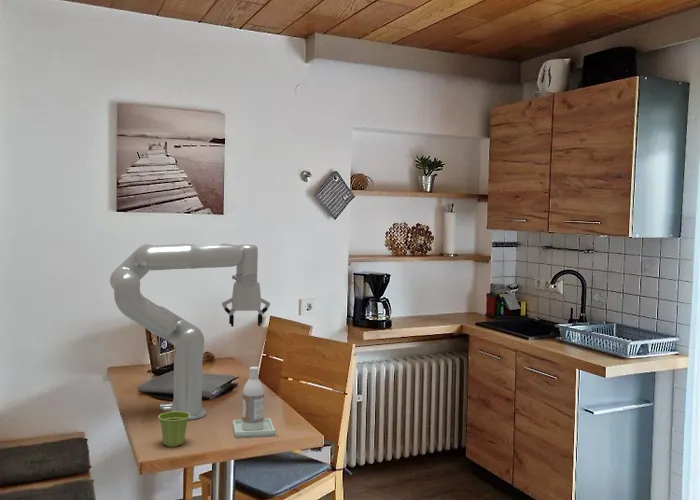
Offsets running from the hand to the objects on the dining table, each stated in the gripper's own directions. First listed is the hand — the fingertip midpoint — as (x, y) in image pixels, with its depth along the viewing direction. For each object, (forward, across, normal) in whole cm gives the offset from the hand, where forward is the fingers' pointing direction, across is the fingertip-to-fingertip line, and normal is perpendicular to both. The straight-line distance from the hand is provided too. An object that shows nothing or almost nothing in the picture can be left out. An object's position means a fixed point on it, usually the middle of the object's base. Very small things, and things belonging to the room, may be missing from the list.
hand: (245, 325), depth 234 cm
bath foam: (+30, +1, -25) cm, 39 cm away
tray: (+30, +1, -25) cm, 39 cm away
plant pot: (+31, -24, -33) cm, 51 cm away
